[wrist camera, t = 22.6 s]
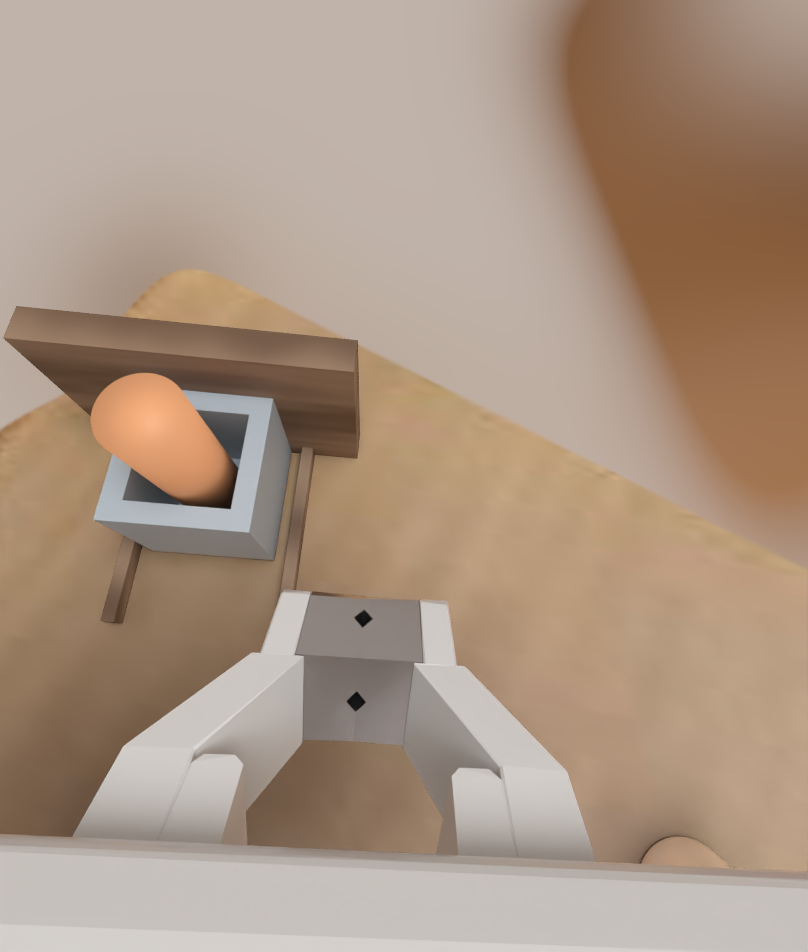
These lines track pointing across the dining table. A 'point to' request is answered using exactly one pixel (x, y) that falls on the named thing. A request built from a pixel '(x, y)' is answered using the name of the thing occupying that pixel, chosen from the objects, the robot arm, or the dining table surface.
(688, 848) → the beer glass
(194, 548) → the socket block
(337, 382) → the backstop wall
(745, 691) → the dining table surface
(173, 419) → the dowel
